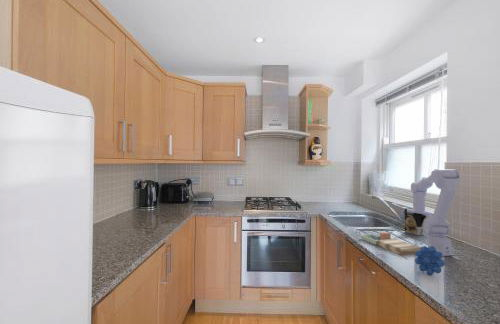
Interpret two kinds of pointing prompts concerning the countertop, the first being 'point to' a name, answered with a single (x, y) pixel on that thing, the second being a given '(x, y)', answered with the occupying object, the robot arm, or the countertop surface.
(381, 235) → the terracotta tile
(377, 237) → the slate tile
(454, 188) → the robot arm
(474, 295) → the countertop surface
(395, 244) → the birch board
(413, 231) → the coffee box
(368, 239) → the tray
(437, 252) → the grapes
